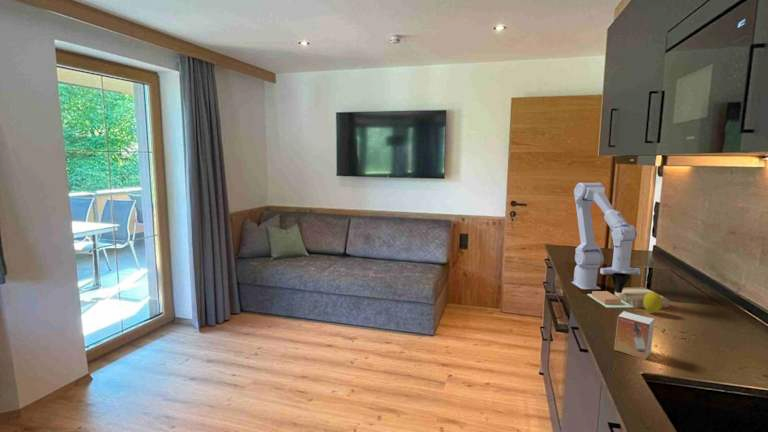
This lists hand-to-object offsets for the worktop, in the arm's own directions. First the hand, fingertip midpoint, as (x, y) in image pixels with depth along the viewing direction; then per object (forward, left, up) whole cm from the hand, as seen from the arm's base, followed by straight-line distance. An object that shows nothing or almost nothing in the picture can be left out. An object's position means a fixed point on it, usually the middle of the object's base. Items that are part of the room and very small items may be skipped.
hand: (618, 292), depth 156 cm
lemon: (+12, +5, -4) cm, 14 cm away
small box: (+40, -20, -4) cm, 45 cm away
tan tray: (0, +9, -4) cm, 10 cm away
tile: (0, -4, -1) cm, 5 cm away
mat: (0, -3, -4) cm, 5 cm away
